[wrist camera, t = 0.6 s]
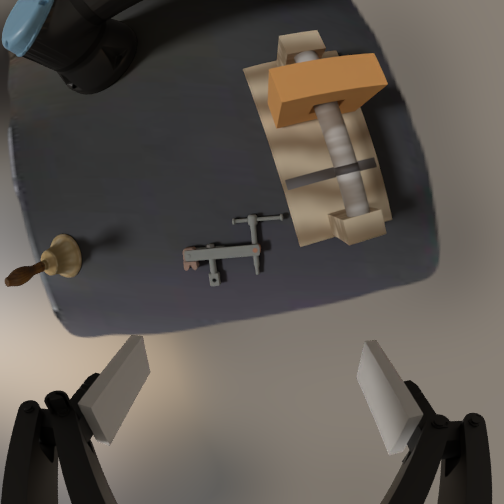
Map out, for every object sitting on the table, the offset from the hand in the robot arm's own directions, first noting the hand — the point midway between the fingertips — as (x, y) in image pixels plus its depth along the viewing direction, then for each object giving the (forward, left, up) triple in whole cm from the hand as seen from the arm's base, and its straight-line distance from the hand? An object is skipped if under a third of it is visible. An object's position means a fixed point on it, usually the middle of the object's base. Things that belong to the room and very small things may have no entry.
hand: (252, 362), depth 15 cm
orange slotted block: (-19, +14, -25) cm, 34 cm away
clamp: (-2, -3, -28) cm, 28 cm away
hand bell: (-10, -34, -27) cm, 45 cm away
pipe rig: (-14, +14, -27) cm, 33 cm away
